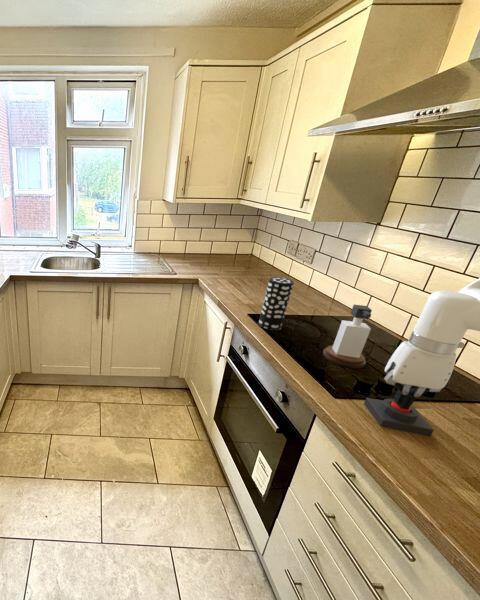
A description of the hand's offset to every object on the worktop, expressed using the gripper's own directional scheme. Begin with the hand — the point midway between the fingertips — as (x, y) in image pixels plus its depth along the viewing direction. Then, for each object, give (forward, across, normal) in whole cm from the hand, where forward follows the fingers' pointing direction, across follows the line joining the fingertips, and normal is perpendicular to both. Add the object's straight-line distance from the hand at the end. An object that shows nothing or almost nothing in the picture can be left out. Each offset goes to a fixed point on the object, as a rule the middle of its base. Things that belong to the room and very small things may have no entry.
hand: (400, 405), depth 81 cm
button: (+2, 0, 0) cm, 2 cm away
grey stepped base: (+5, 0, 0) cm, 5 cm away
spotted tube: (+5, +20, -50) cm, 54 cm away
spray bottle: (+3, +1, -30) cm, 30 cm away
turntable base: (+5, +1, -30) cm, 30 cm away
